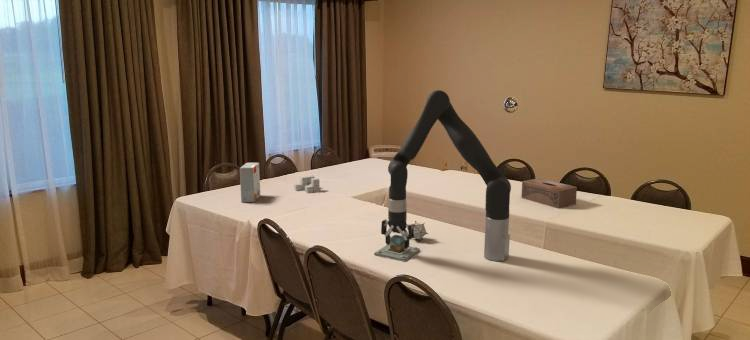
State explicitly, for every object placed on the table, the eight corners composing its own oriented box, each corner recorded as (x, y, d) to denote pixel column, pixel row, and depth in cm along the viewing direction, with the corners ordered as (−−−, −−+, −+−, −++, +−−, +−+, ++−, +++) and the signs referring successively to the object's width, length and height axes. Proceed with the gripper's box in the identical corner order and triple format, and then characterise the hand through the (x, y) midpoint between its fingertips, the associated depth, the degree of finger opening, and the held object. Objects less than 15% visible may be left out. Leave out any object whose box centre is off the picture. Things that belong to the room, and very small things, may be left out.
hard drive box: (254, 202, 300) (252, 167, 296) (241, 202, 301) (238, 167, 296) (260, 195, 316) (259, 162, 311) (248, 195, 316) (246, 162, 311)
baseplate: (419, 250, 227) (419, 247, 226) (404, 261, 215) (404, 257, 215) (390, 244, 234) (390, 241, 234) (374, 255, 222) (374, 251, 222)
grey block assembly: (294, 189, 328) (293, 177, 327) (312, 187, 334) (312, 175, 332) (300, 194, 318) (300, 181, 316) (319, 191, 323) (319, 179, 322)
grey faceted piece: (416, 248, 239) (407, 235, 233) (410, 236, 246) (401, 222, 240) (433, 239, 239) (425, 225, 233) (427, 227, 246) (419, 213, 240)
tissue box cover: (575, 204, 294) (577, 187, 292) (558, 209, 286) (559, 190, 284) (538, 194, 315) (539, 178, 313) (521, 198, 307) (522, 181, 305)
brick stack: (404, 249, 225) (404, 236, 224) (399, 253, 221) (399, 239, 220) (395, 247, 227) (395, 234, 226) (390, 251, 223) (390, 237, 222)
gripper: (417, 209, 220) (416, 246, 223) (386, 204, 227) (386, 240, 231) (408, 213, 214) (408, 252, 217) (377, 208, 221) (378, 246, 224)
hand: (397, 246), depth 224 cm, fingers open, 8 cm apart
